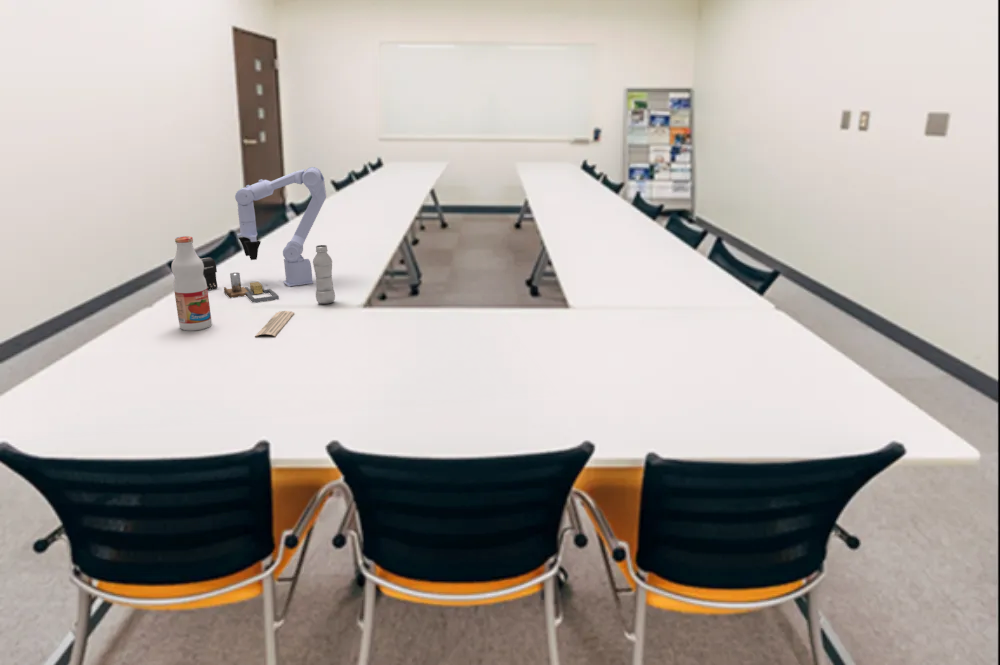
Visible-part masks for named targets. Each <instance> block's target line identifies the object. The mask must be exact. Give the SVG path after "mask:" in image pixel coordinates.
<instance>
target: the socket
mask: <svg viewBox="0 0 1000 665" xmlns="http://www.w3.org/2000/svg"><path fill="white" fill-rule="evenodd" d="M244 288H245V289H247V290H248V291H249V292H245V294H246V296H247V297H248V298H249V299H250V300H251V301H252V302H256V303H261V302H260V301H263V302H268V301H267V300H270V301H275V300H274V299H277V300H280V296H279V295H278V293H276V292H275V291H274V290H272V289H271V288H267V289H266V288H264V287H263V286H262V289H263V293H262V294H264V293H265V294H269V293H270V294H271V295H272V296H271V295H270V294H269V295H270V296H269V295H268V296H263V297H254V293H253V291H251V290H250V287H248V286H245V287H244ZM246 296H245V297H246ZM247 297H246V298H247ZM248 298H247V299H248ZM249 299H248V300H249ZM250 300H249V301H250ZM251 301H250V302H251Z"/></svg>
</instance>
